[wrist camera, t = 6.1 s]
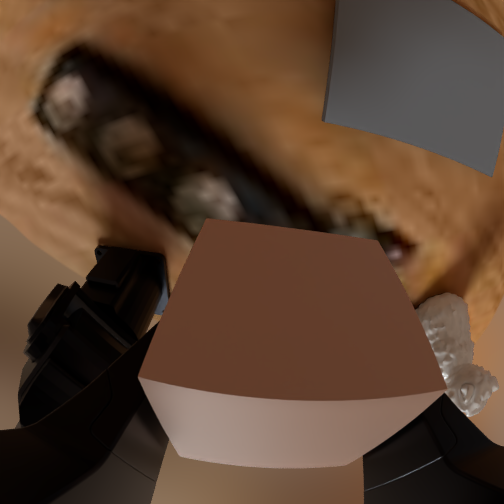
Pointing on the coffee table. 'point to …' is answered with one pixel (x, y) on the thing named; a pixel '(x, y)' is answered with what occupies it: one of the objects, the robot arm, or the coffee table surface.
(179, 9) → the coffee table surface
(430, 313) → the white creature statuette
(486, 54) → the charcoal mat
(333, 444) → the terracotta cube
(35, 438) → the robot arm
